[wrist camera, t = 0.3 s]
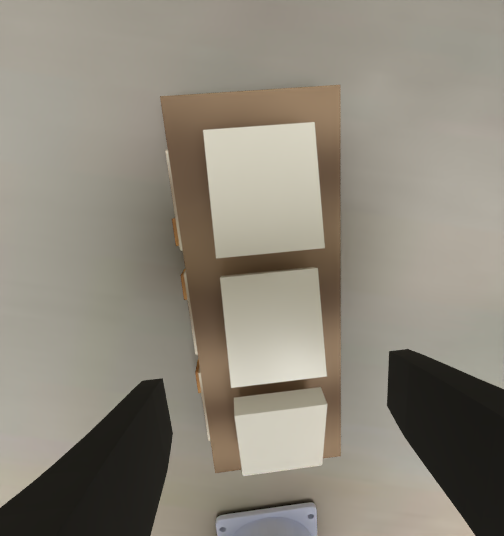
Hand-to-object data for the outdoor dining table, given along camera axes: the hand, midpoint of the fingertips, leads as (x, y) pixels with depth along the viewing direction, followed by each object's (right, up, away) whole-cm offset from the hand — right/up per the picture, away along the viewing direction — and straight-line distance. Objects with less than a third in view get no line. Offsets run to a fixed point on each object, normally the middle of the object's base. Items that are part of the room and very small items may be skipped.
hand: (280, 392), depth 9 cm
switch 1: (0, +7, +3) cm, 8 cm away
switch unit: (0, +2, +9) cm, 10 cm away
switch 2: (0, +1, +5) cm, 5 cm away
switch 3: (+1, -4, +6) cm, 8 cm away
